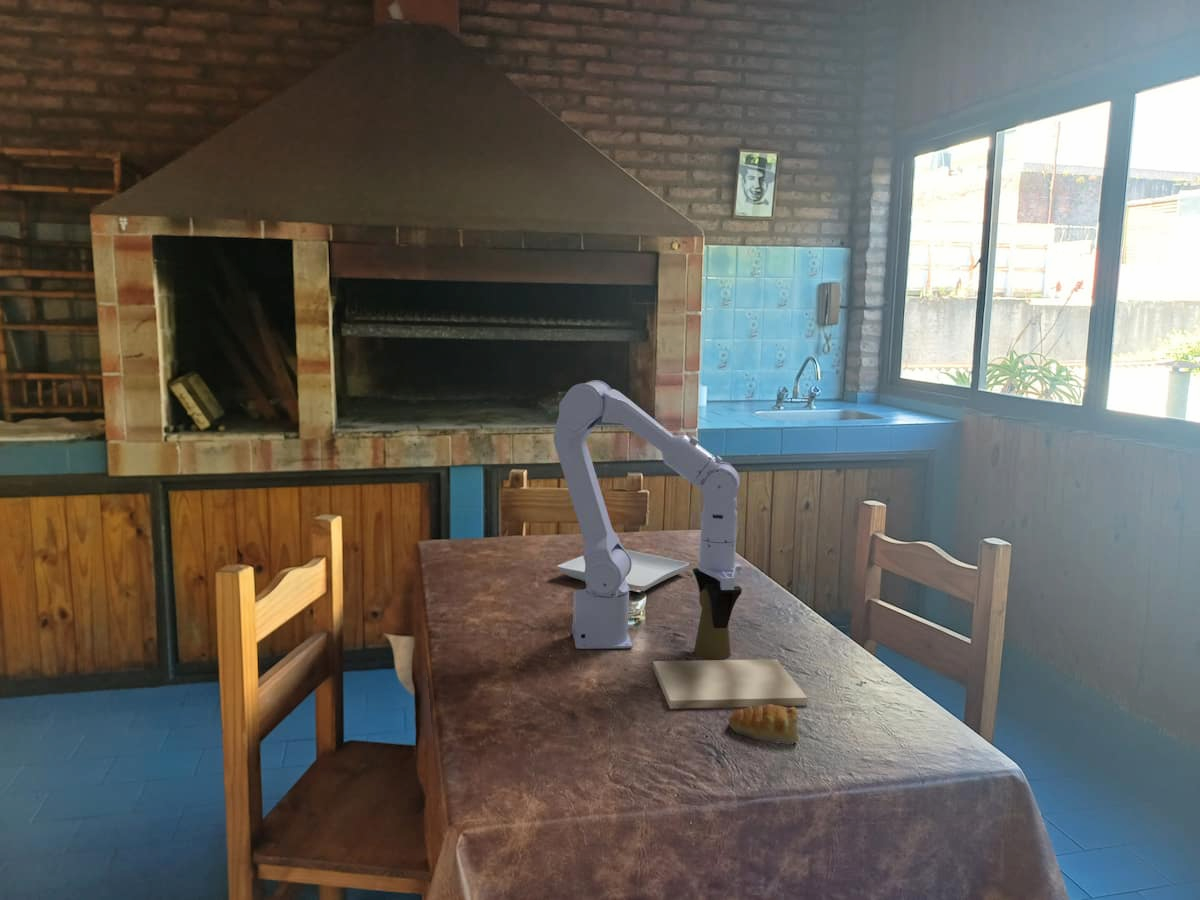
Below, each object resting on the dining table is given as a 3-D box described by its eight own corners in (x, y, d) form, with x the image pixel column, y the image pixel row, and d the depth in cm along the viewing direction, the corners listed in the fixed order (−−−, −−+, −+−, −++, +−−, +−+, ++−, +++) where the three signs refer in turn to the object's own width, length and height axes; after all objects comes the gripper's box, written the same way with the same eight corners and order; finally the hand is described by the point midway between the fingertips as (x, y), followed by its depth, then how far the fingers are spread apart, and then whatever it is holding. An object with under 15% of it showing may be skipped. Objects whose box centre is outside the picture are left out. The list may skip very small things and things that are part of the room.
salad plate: (690, 576, 185) (691, 560, 185) (642, 601, 167) (642, 584, 167) (607, 559, 196) (608, 544, 196) (554, 581, 178) (554, 565, 178)
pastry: (727, 740, 112) (728, 712, 112) (729, 717, 119) (730, 691, 118) (800, 748, 111) (802, 720, 110) (798, 725, 117) (799, 699, 117)
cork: (690, 646, 144) (693, 583, 143) (726, 645, 145) (729, 583, 143) (698, 660, 138) (701, 594, 137) (734, 659, 139) (738, 594, 137)
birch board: (670, 708, 121) (670, 700, 120) (653, 668, 134) (653, 661, 134) (806, 705, 123) (807, 697, 123) (776, 666, 137) (776, 659, 136)
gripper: (755, 550, 132) (750, 634, 134) (730, 527, 146) (726, 604, 148) (710, 550, 131) (706, 635, 133) (690, 527, 145) (687, 604, 147)
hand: (714, 619), depth 141 cm, fingers open, 7 cm apart
